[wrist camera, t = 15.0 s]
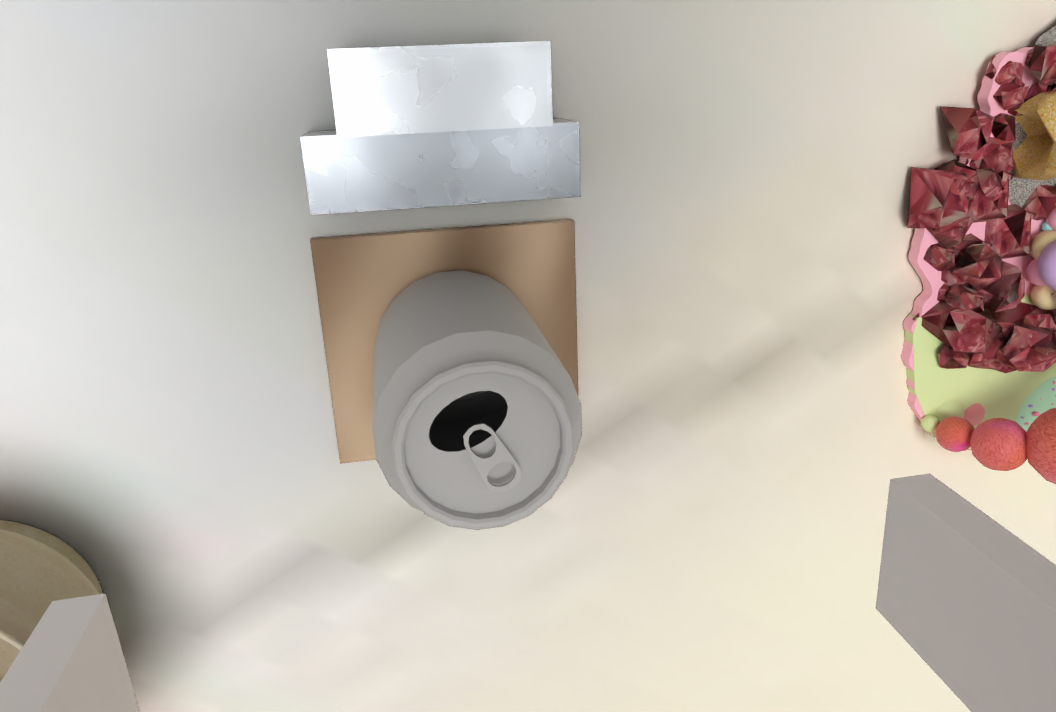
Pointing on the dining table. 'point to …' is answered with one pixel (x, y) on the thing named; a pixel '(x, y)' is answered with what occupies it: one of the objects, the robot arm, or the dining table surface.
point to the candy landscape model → (990, 271)
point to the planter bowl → (35, 582)
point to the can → (470, 403)
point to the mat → (405, 257)
